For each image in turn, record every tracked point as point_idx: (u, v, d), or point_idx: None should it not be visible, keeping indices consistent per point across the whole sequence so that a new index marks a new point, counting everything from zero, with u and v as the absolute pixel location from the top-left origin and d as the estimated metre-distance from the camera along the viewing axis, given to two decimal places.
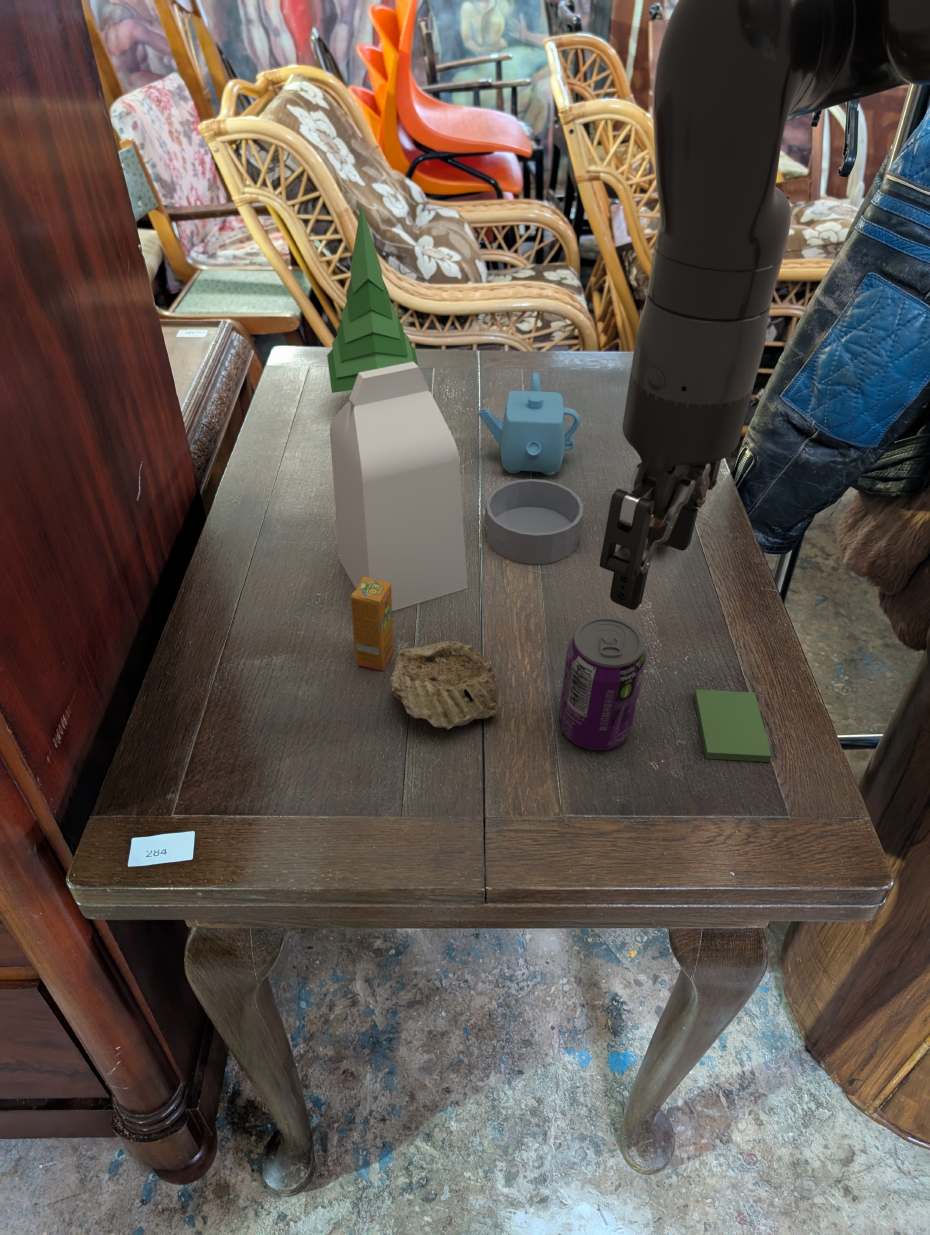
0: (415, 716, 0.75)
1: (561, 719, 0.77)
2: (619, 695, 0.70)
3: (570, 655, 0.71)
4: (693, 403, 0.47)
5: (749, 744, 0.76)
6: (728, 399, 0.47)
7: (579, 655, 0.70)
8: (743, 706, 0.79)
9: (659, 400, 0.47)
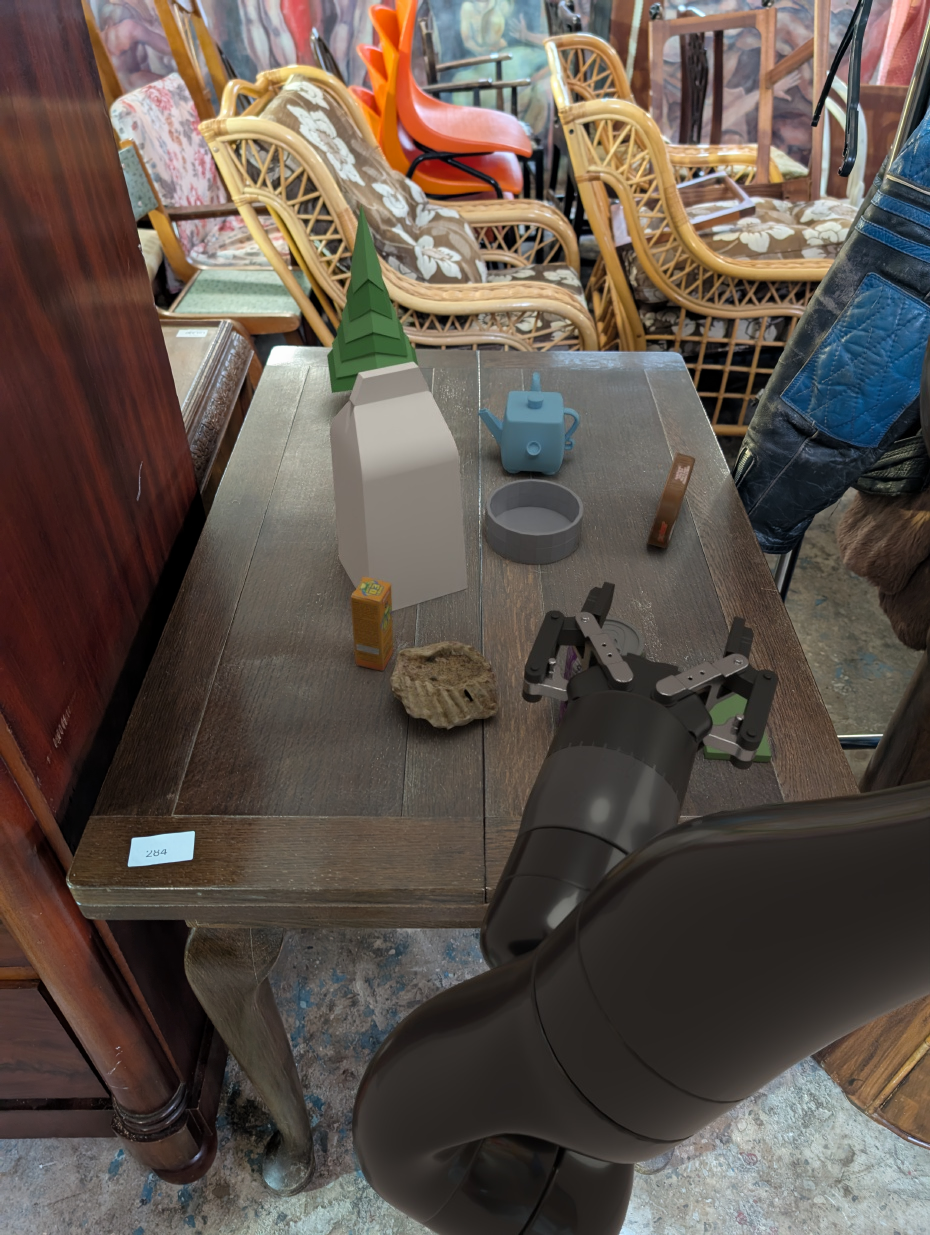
0: (415, 716, 0.75)
1: (561, 719, 0.77)
2: None
3: (570, 655, 0.71)
4: (678, 800, 0.40)
5: None
6: (655, 774, 0.39)
7: None
8: (743, 706, 0.79)
9: None
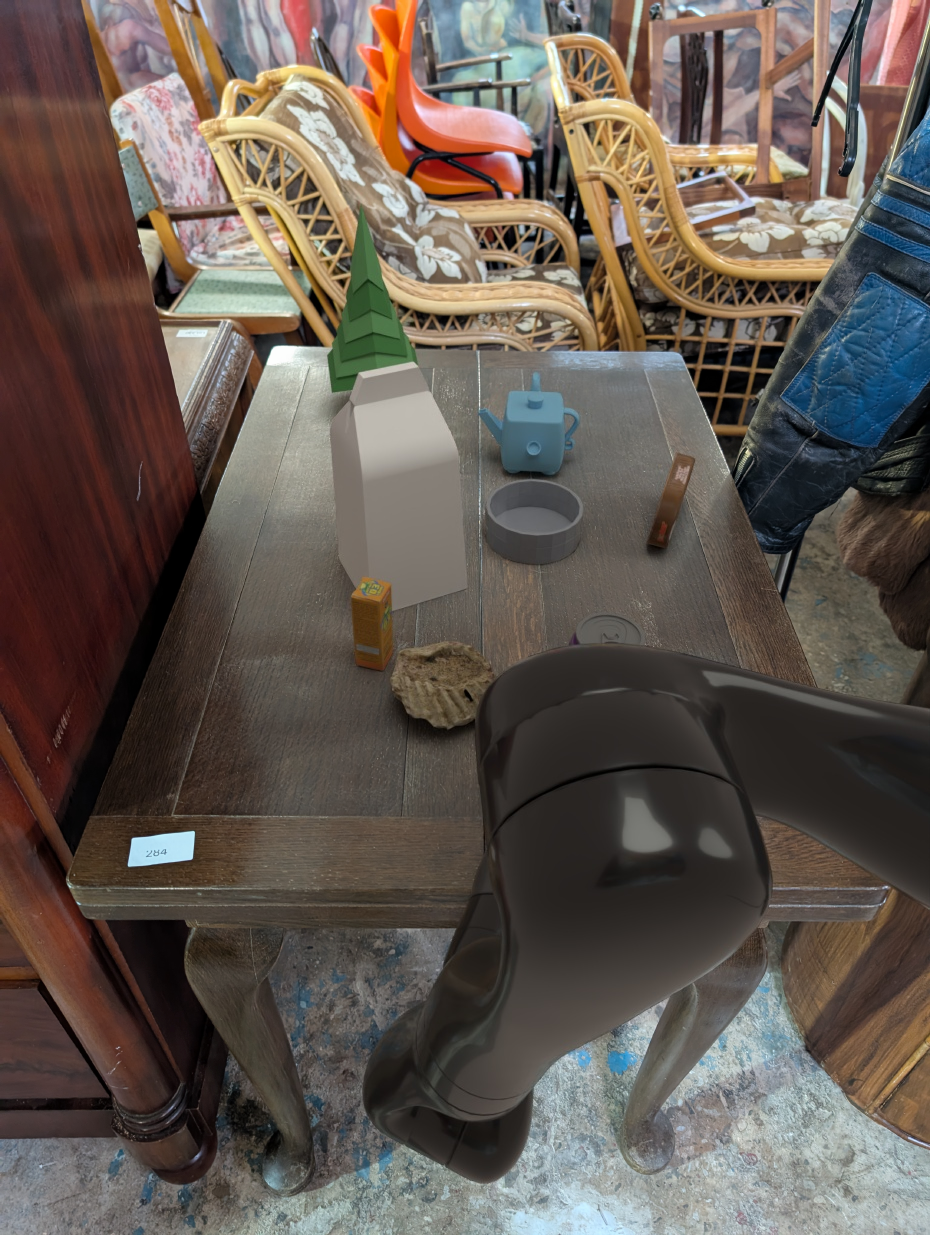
0: (415, 716, 0.75)
1: None
2: None
3: None
4: None
5: None
6: None
7: None
8: None
9: None
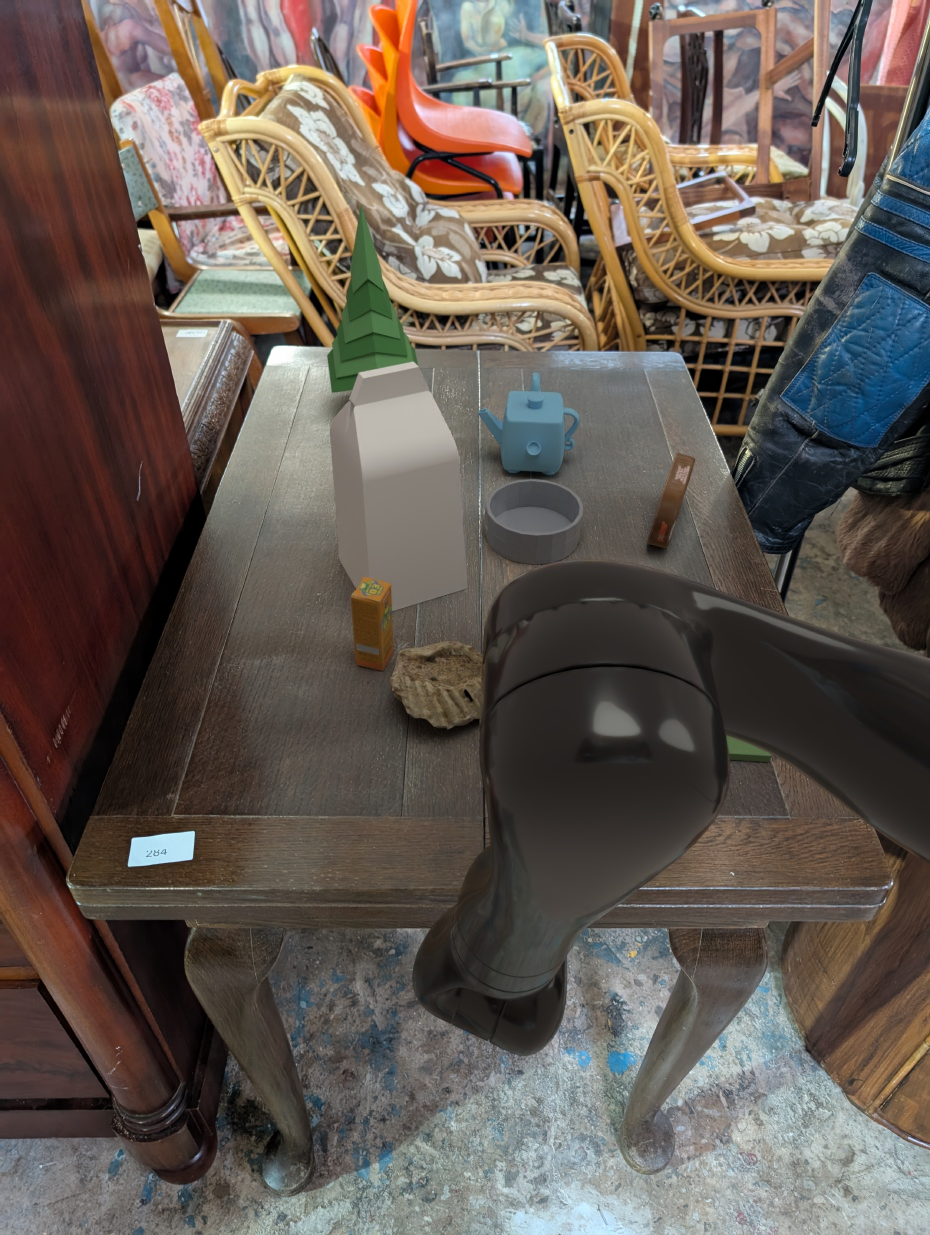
0: (415, 716, 0.75)
1: None
2: None
3: None
4: None
5: (749, 744, 0.76)
6: None
7: None
8: None
9: None
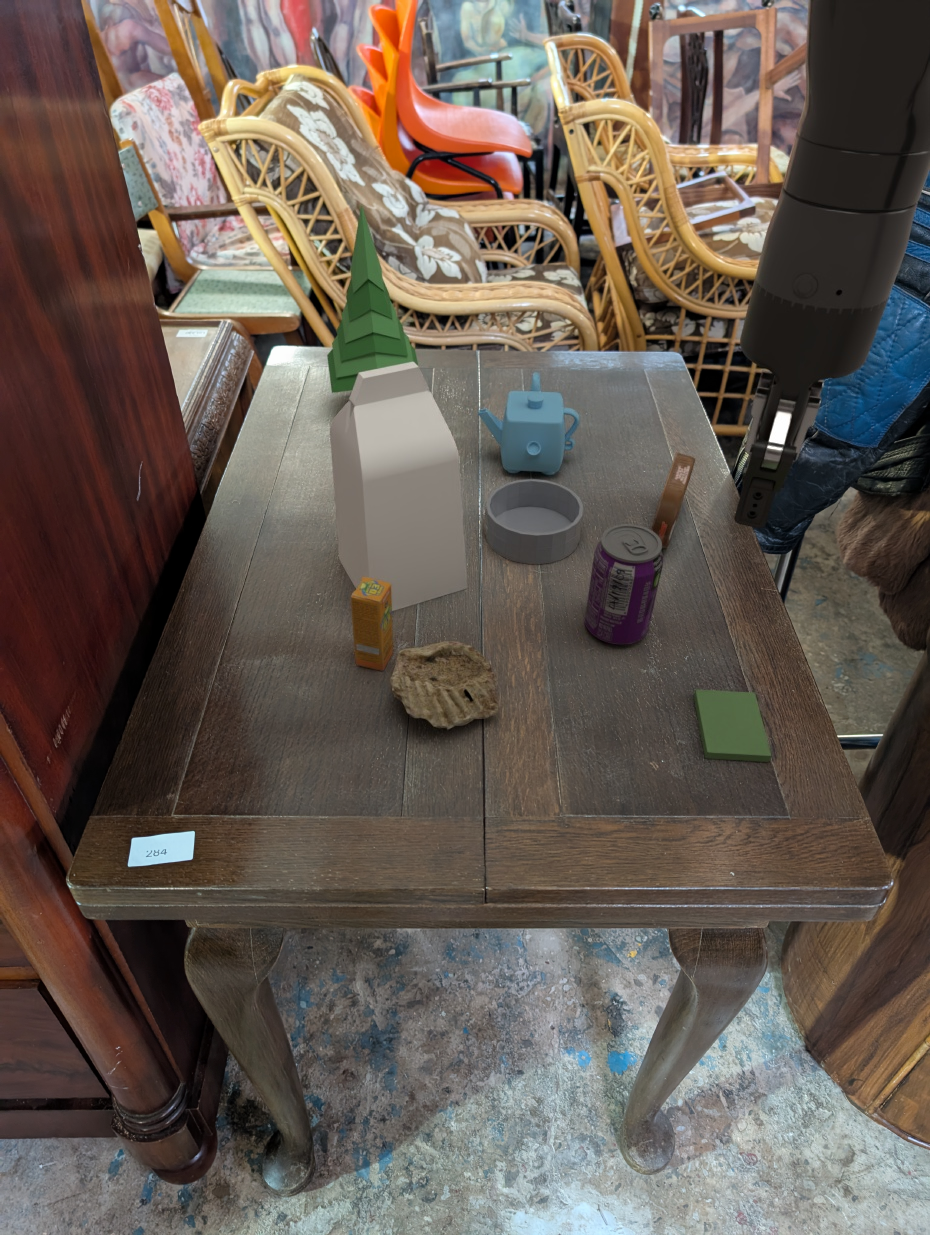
0: (415, 716, 0.75)
1: (596, 628, 0.86)
2: (653, 585, 0.81)
3: (604, 565, 0.80)
4: (847, 308, 0.44)
5: (749, 744, 0.76)
6: (879, 300, 0.44)
7: (616, 561, 0.79)
8: (743, 706, 0.79)
9: (807, 309, 0.44)
